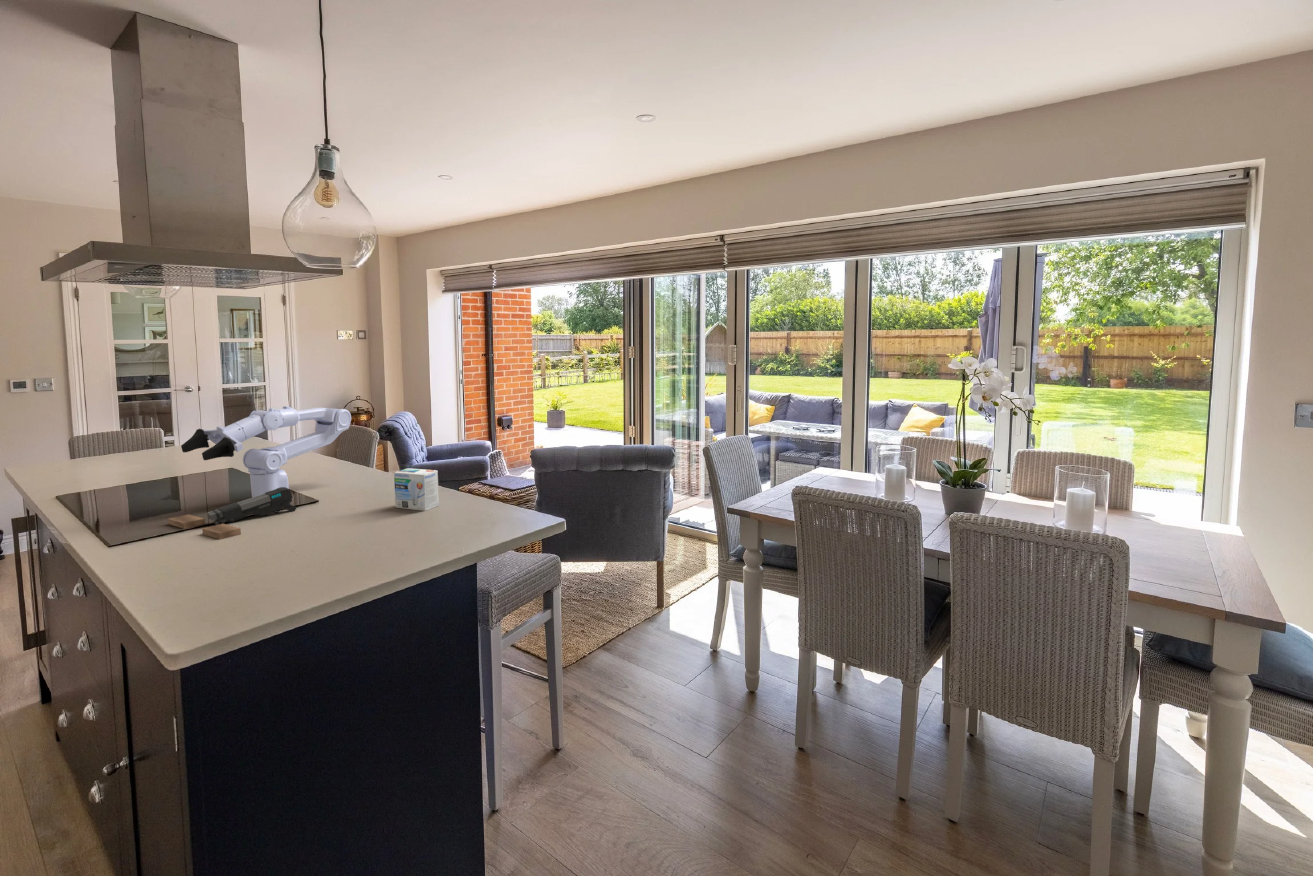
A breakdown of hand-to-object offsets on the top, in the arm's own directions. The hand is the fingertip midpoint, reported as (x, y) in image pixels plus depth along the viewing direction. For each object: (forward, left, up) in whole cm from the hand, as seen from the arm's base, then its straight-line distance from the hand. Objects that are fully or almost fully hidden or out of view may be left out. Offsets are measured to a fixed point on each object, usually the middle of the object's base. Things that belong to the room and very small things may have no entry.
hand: (192, 453), depth 181 cm
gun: (-8, +12, -19) cm, 24 cm away
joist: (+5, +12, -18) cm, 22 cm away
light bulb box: (-39, +41, -18) cm, 60 cm away
